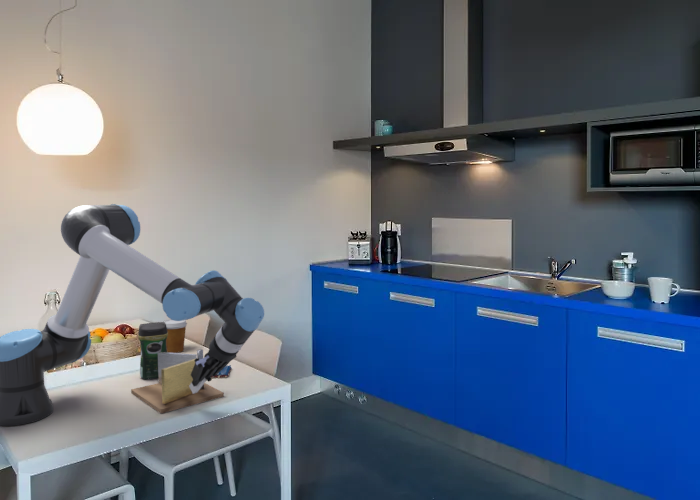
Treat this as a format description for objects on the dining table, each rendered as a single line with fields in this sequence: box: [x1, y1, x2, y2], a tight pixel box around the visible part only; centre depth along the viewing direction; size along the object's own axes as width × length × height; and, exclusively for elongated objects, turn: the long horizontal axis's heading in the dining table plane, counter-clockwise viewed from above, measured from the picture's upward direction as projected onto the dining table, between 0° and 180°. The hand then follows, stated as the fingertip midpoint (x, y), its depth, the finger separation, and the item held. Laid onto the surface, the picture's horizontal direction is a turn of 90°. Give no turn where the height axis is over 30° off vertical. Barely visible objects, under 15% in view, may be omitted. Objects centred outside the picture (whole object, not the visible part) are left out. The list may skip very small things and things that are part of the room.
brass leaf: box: [161, 359, 200, 404], centre depth 167 cm, size 13×1×10 cm, turn 147°
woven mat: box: [211, 364, 232, 379], centre depth 193 cm, size 10×11×2 cm
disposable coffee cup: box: [162, 318, 188, 353], centre depth 221 cm, size 10×10×12 cm
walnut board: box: [130, 382, 225, 414], centre depth 173 cm, size 20×22×1 cm
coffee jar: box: [137, 321, 168, 380], centre depth 190 cm, size 10×8×19 cm
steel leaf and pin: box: [158, 348, 204, 390], centre depth 177 cm, size 16×3×14 cm, turn 77°
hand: (193, 389), depth 162 cm, fingers closed
